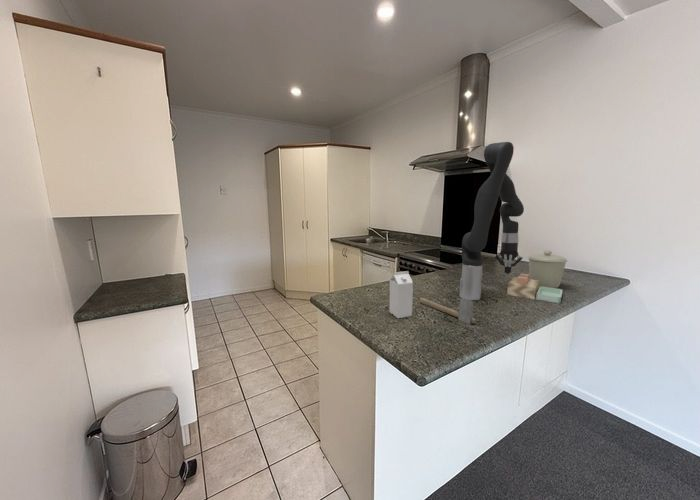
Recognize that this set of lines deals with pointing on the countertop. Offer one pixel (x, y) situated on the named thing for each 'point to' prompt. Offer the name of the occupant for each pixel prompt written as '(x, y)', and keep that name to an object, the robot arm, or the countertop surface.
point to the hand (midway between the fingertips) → (507, 273)
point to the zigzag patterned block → (523, 288)
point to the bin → (549, 294)
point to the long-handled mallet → (463, 314)
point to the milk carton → (401, 294)
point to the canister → (547, 269)
